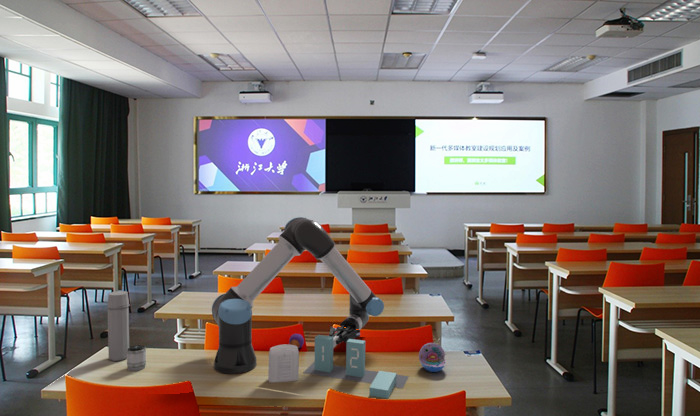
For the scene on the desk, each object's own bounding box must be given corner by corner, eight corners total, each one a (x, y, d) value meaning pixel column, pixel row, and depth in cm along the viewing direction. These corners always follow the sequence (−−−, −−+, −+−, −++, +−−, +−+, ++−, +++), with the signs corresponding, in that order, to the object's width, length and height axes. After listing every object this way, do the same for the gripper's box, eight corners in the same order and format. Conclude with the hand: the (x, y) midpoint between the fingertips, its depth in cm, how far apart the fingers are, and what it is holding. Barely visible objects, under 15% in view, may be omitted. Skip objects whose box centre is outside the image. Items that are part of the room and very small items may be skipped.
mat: (302, 373, 169) (302, 372, 169) (313, 363, 178) (313, 362, 178) (402, 389, 158) (402, 388, 158) (408, 377, 167) (408, 376, 167)
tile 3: (379, 379, 164) (369, 396, 152) (379, 370, 163) (369, 387, 152) (396, 382, 162) (387, 399, 150) (396, 373, 161) (387, 390, 150)
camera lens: (126, 372, 168) (126, 351, 167) (127, 366, 174) (127, 344, 173) (146, 370, 170) (145, 348, 170) (146, 363, 176) (146, 342, 175)
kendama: (275, 353, 177) (290, 332, 197) (278, 368, 178) (292, 345, 198) (290, 352, 176) (303, 330, 196) (294, 367, 177) (306, 344, 197)
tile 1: (314, 370, 171) (314, 337, 170) (317, 366, 174) (317, 334, 173) (329, 372, 169) (330, 339, 168) (333, 369, 172) (333, 336, 171)
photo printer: (297, 376, 167) (298, 341, 166) (299, 381, 163) (299, 346, 162) (268, 378, 164) (268, 343, 164) (268, 384, 160) (268, 348, 159)
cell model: (422, 377, 167) (423, 350, 166) (415, 364, 179) (416, 339, 178) (450, 377, 168) (451, 350, 167) (442, 363, 180) (442, 338, 179)
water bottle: (121, 362, 176) (120, 296, 175) (103, 360, 178) (101, 294, 176) (137, 353, 185) (136, 290, 184) (119, 351, 187) (118, 289, 185)
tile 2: (345, 375, 167) (346, 341, 166) (348, 371, 170) (349, 338, 169) (362, 377, 165) (362, 343, 165) (364, 374, 168) (365, 340, 168)
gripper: (365, 336, 199) (347, 357, 176) (336, 333, 203) (314, 352, 180) (365, 319, 198) (347, 337, 176) (336, 315, 202) (315, 333, 180)
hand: (331, 345), depth 178 cm, fingers closed
